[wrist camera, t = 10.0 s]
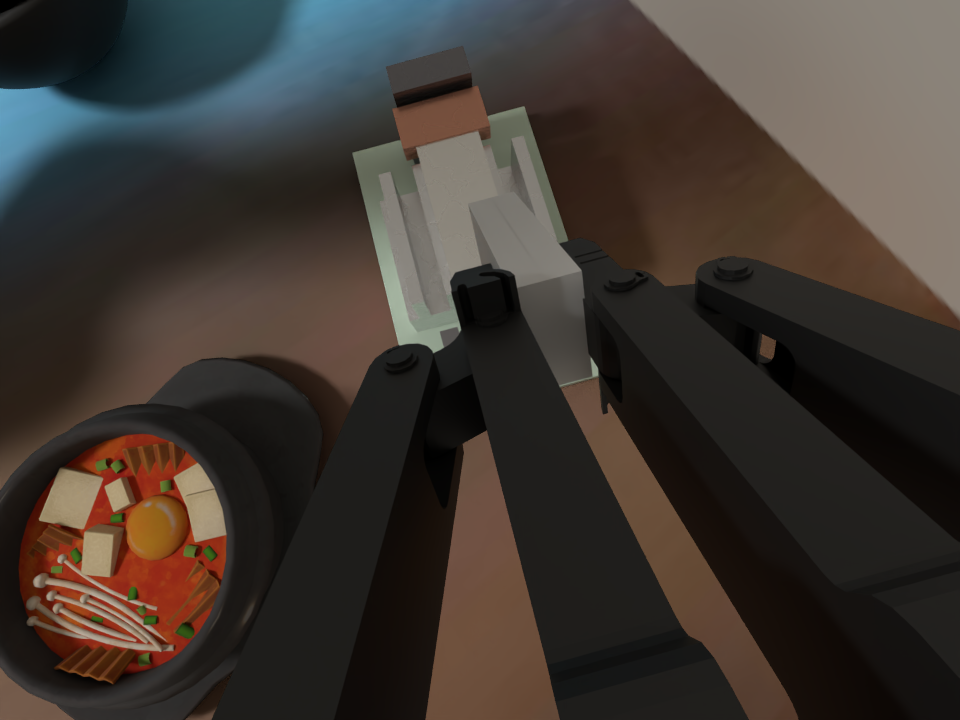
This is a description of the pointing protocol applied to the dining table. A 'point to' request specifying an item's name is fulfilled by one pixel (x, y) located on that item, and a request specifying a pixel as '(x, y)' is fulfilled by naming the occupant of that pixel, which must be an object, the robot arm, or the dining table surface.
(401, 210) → the heat sink
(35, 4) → the coal bowl
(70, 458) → the casserole
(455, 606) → the dining table surface
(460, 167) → the retention strap
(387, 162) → the circuit board
